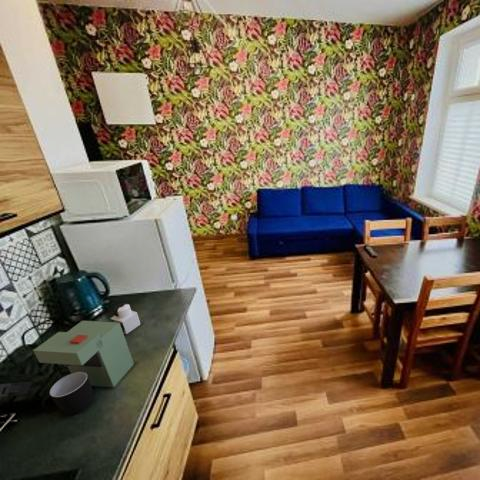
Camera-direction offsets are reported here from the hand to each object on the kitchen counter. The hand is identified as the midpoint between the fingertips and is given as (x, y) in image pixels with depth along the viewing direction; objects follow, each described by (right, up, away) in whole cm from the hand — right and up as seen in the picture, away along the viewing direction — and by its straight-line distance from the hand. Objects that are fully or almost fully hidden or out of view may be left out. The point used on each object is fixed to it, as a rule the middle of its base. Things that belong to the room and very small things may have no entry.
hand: (0, 389), depth 67 cm
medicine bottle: (-7, -3, +54) cm, 55 cm away
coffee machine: (+1, -13, +29) cm, 32 cm away
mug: (+1, -17, +20) cm, 26 cm away
